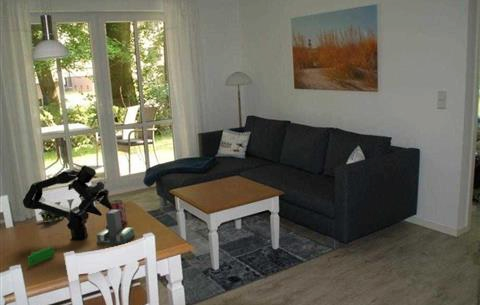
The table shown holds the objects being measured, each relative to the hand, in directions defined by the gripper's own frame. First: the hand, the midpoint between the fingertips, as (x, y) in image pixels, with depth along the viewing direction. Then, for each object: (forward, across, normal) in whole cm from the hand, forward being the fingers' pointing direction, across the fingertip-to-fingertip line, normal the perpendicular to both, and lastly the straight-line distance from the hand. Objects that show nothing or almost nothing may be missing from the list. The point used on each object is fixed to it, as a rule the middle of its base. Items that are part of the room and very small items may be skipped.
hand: (106, 212), depth 201 cm
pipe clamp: (-4, -25, +23) cm, 34 cm away
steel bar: (+11, 0, +7) cm, 13 cm away
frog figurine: (-25, +22, +45) cm, 56 cm away
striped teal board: (+12, 0, +7) cm, 14 cm away
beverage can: (+5, +21, +15) cm, 26 cm away
